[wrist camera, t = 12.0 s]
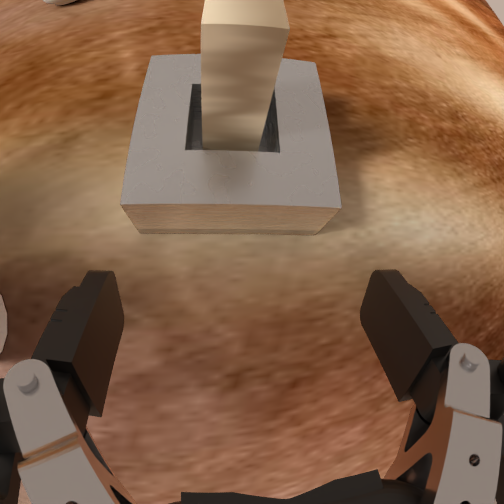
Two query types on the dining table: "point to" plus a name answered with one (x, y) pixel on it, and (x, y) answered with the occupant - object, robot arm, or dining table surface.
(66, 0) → the teacup
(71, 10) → the dining table surface
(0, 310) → the white cup
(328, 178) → the grey square socket block
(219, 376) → the dining table surface
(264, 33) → the square wooden peg
